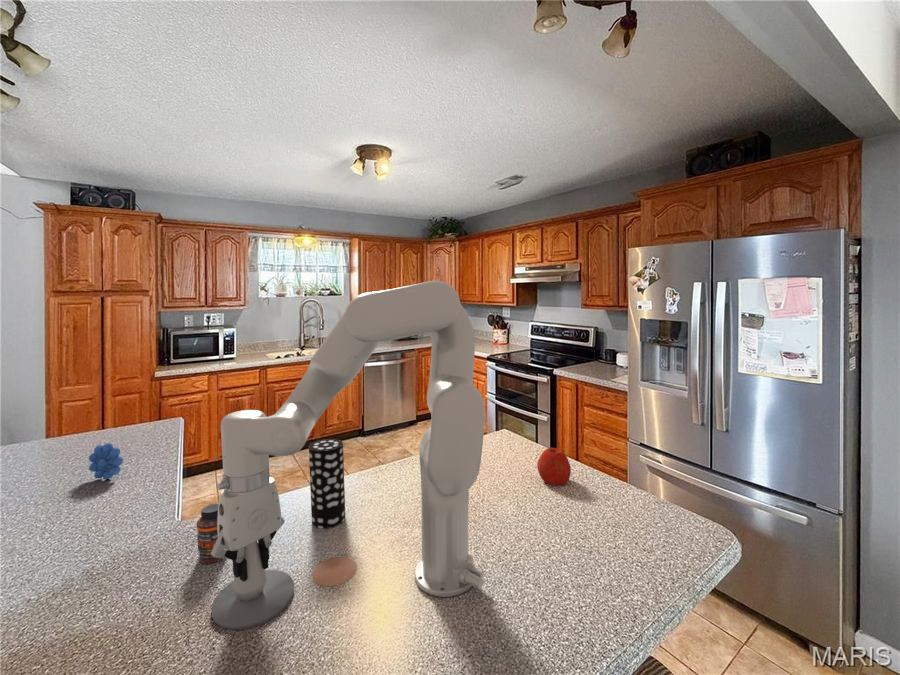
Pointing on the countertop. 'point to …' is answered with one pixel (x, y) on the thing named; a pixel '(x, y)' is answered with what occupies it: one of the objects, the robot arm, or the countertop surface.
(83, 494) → the countertop surface
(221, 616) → the slate plate
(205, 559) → the supplement bottle
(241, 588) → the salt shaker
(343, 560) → the terracotta spot
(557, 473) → the apple
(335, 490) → the spotted tube
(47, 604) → the countertop surface
